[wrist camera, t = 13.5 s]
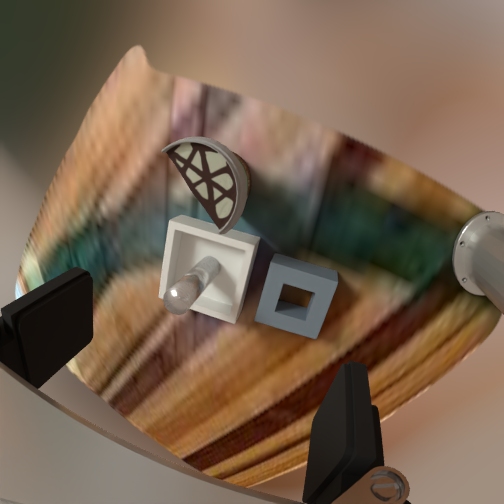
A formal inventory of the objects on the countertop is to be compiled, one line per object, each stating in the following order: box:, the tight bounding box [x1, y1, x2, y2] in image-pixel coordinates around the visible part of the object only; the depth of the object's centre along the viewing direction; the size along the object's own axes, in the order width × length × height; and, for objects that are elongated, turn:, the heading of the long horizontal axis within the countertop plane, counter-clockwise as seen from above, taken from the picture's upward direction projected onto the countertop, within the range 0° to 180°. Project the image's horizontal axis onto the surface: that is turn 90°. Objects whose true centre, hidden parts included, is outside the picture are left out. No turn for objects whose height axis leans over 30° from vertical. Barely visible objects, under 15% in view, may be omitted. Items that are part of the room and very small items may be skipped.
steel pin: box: [163, 256, 221, 315], centre depth 41 cm, size 3×3×12 cm
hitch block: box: [254, 253, 338, 339], centre depth 44 cm, size 9×9×4 cm
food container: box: [161, 137, 251, 235], centre depth 38 cm, size 12×6×10 cm, turn 35°
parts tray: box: [159, 215, 261, 324], centre depth 46 cm, size 12×12×4 cm
